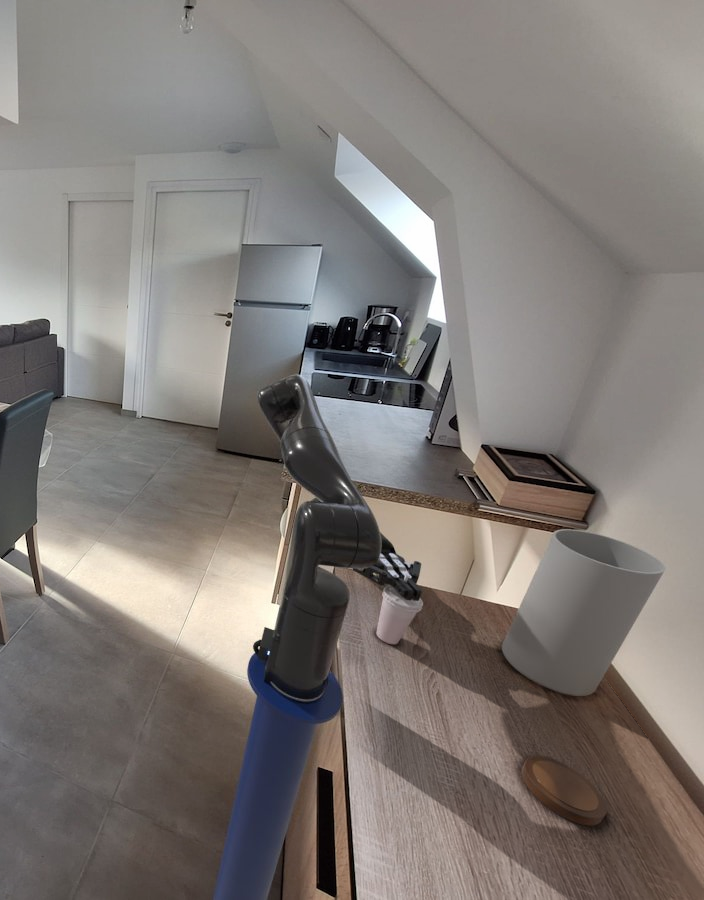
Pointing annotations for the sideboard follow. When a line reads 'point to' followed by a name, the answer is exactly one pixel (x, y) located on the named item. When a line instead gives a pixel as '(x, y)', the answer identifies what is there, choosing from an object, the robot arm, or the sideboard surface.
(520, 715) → the sideboard surface
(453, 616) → the sideboard surface
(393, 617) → the smoothie
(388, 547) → the robot arm
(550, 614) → the cylinder vase
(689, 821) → the sideboard surface
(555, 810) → the coaster
